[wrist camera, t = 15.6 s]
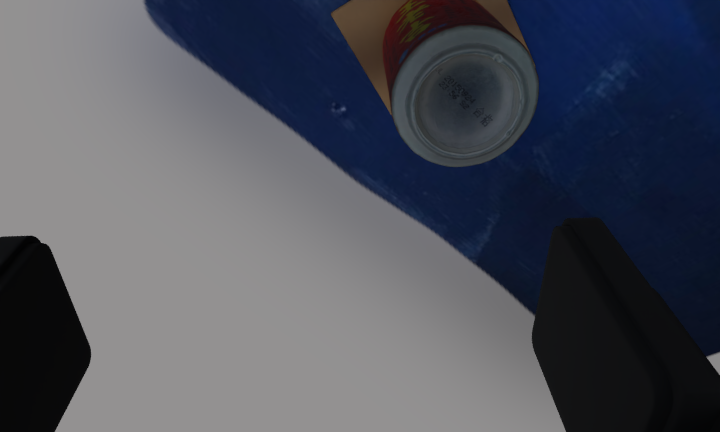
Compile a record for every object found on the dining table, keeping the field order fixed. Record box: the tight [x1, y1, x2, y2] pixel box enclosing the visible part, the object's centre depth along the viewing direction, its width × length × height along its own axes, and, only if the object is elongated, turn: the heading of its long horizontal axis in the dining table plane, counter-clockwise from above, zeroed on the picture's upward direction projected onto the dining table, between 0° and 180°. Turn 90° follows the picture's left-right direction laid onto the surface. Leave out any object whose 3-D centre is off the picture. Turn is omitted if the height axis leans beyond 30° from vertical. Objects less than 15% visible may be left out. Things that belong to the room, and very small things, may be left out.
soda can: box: [382, 0, 539, 167], centre depth 30 cm, size 7×7×12 cm
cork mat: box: [331, 0, 536, 115], centre depth 36 cm, size 10×10×1 cm
